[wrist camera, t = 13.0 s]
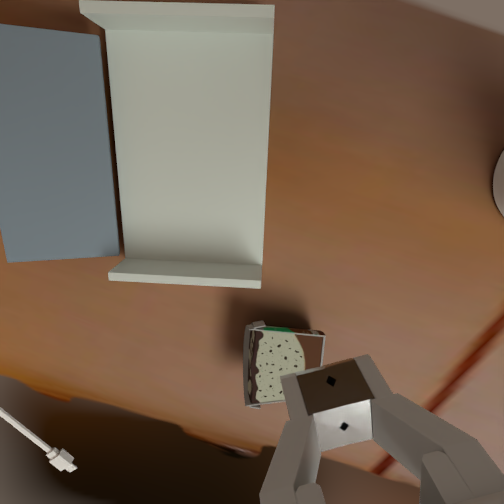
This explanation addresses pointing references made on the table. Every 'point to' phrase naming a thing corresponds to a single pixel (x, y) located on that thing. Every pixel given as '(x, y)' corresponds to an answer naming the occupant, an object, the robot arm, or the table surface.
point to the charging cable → (43, 445)
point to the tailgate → (54, 147)
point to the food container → (276, 359)
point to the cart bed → (189, 137)
